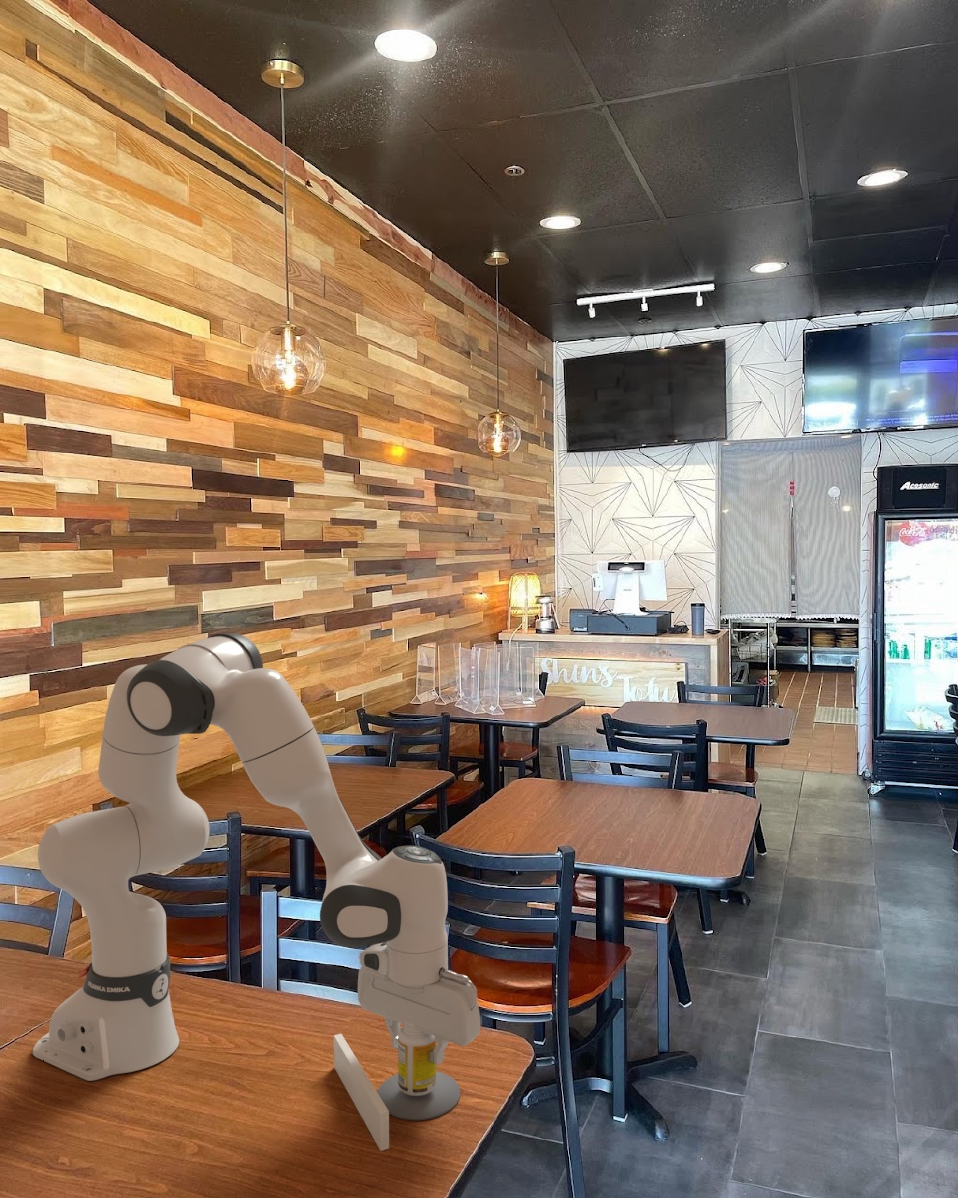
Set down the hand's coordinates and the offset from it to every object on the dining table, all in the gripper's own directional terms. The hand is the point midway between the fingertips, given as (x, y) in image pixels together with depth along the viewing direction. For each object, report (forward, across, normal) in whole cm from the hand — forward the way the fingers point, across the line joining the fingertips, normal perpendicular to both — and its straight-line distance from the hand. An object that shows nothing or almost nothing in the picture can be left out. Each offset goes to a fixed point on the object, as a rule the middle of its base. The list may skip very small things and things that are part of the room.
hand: (417, 1054), depth 132 cm
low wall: (+6, +5, +7) cm, 10 cm away
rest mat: (+6, 0, 0) cm, 6 cm away
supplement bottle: (+5, 0, 0) cm, 5 cm away
